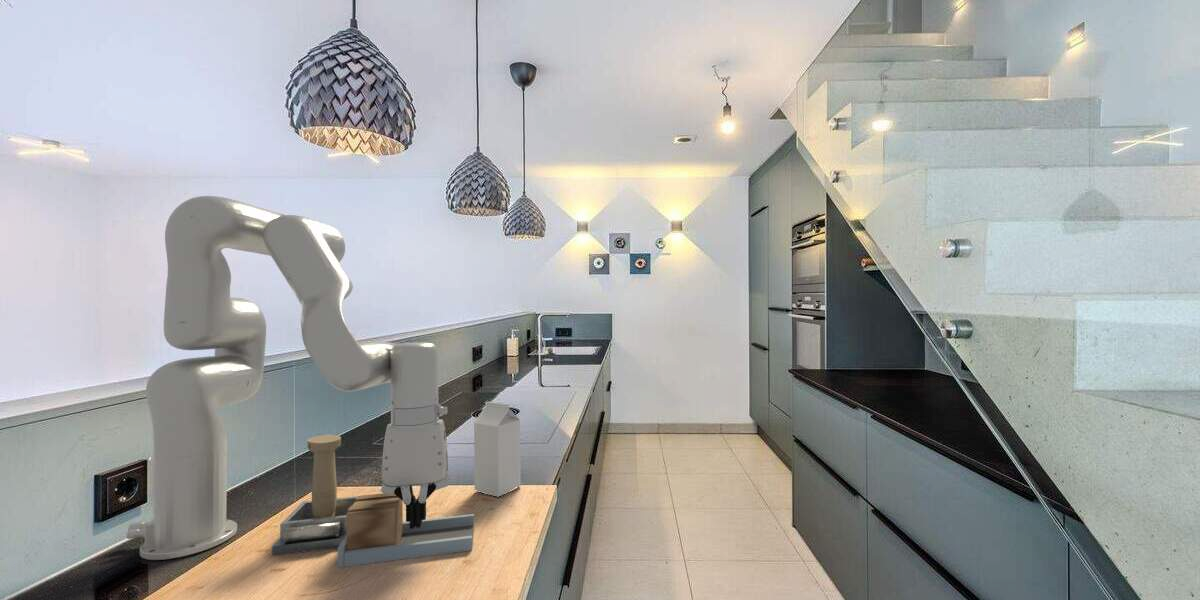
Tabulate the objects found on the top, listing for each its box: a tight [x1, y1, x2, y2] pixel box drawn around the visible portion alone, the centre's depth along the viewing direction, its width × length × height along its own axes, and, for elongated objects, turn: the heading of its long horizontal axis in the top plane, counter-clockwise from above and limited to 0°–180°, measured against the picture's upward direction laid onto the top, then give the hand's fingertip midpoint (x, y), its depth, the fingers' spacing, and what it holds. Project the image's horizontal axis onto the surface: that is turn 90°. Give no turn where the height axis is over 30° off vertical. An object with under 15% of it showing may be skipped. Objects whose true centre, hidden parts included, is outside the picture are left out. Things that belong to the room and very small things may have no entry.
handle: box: [306, 434, 342, 519], centre depth 83 cm, size 5×6×15 cm
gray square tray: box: [271, 495, 359, 557], centre depth 82 cm, size 11×12×4 cm
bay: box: [337, 513, 475, 568], centre depth 78 cm, size 20×9×3 cm, turn 103°
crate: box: [347, 492, 404, 551], centre depth 77 cm, size 7×7×7 cm
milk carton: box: [473, 401, 522, 498], centre depth 102 cm, size 7×7×19 cm
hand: (416, 524), depth 78 cm, fingers closed
